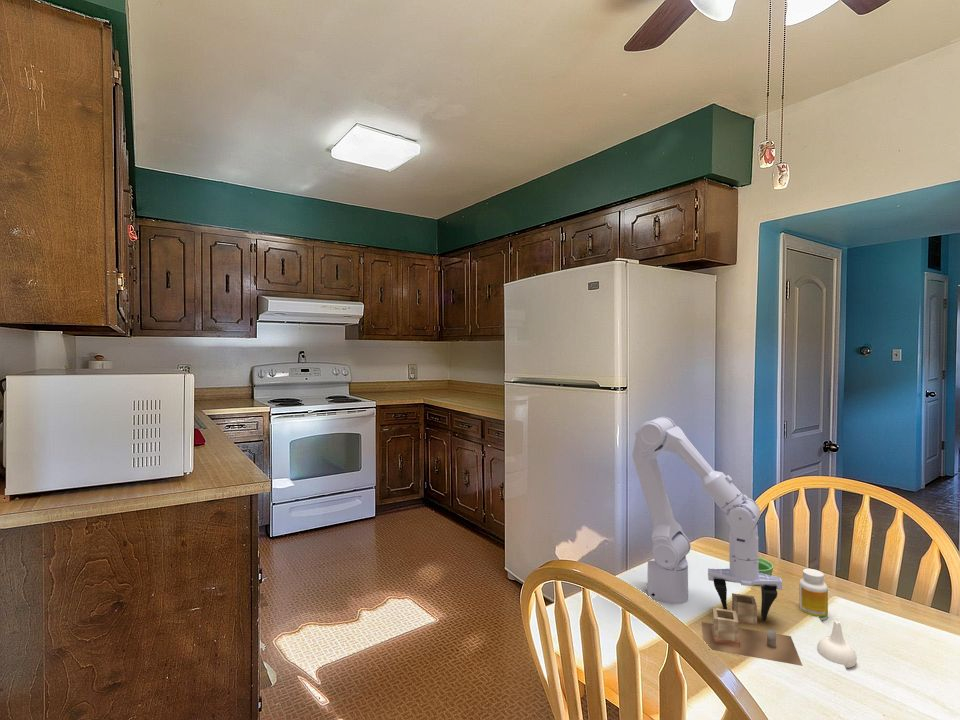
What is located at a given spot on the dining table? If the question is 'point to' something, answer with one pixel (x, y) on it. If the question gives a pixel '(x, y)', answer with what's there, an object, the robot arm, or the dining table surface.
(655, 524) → the robot arm
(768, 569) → the ramekin
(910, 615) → the dining table surface
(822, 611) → the supplement bottle
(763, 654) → the pin board
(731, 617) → the seated sleeve
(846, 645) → the garlic bulb
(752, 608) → the banded sleeve
